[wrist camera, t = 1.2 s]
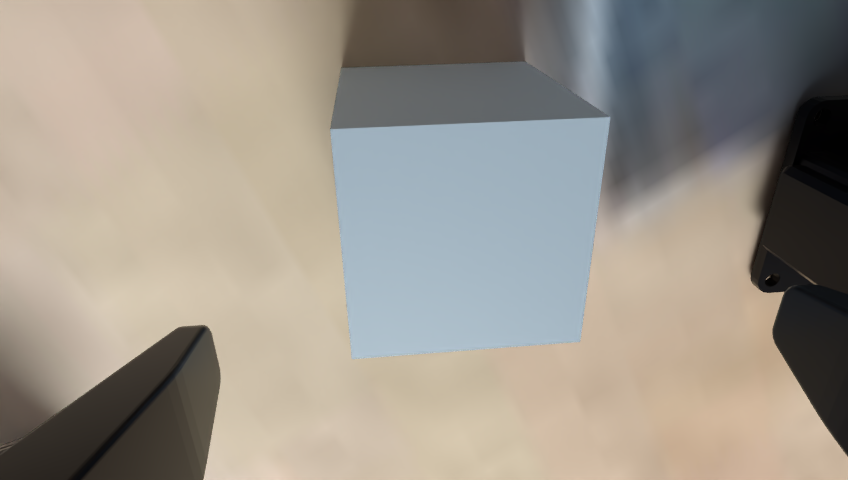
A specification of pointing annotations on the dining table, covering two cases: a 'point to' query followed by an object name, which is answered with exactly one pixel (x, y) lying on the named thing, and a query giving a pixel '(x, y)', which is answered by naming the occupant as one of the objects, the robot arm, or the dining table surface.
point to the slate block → (464, 206)
